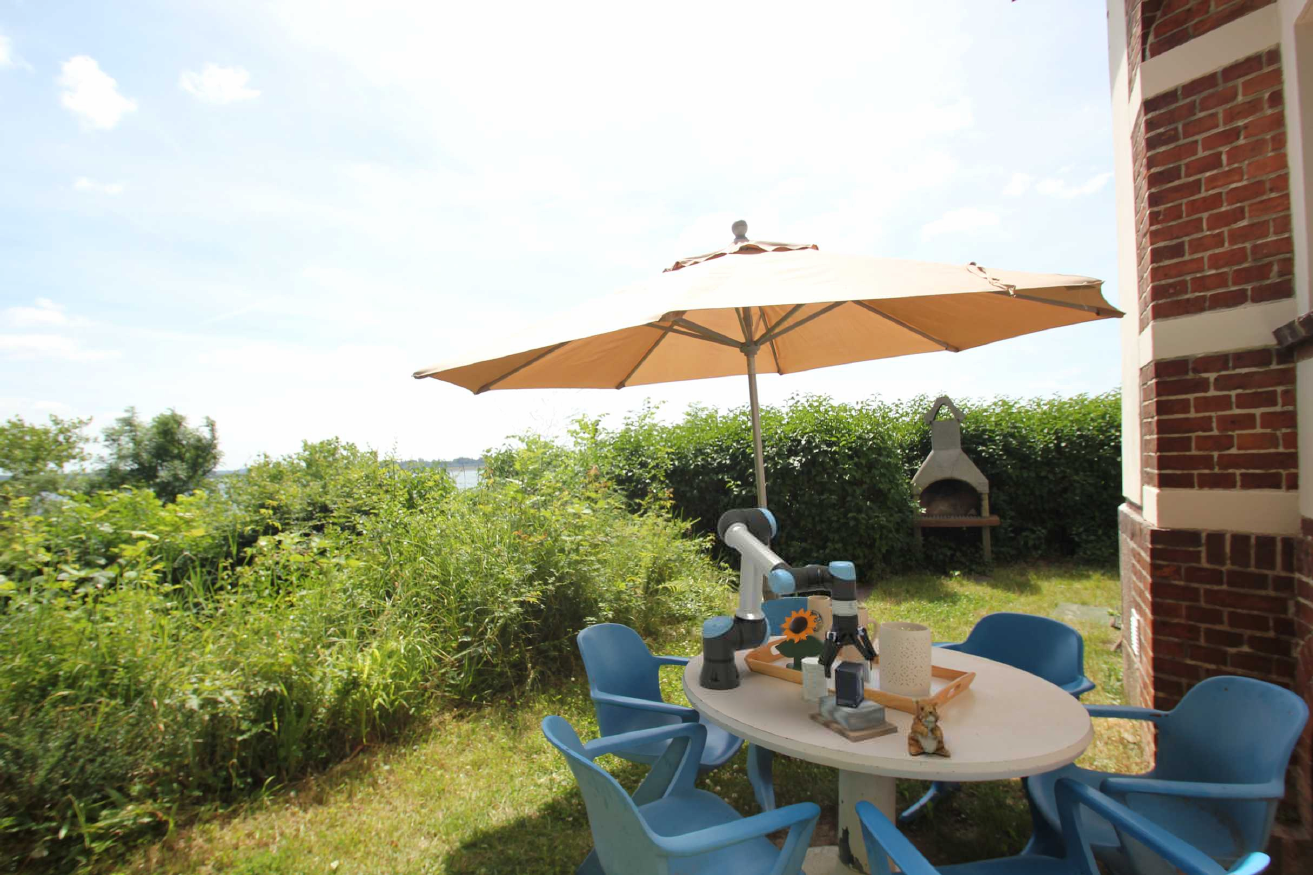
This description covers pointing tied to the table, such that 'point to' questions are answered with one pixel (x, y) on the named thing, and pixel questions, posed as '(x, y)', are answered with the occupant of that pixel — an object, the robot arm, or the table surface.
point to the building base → (854, 734)
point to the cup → (813, 679)
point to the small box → (849, 684)
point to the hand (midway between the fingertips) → (849, 685)
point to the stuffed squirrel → (926, 729)
